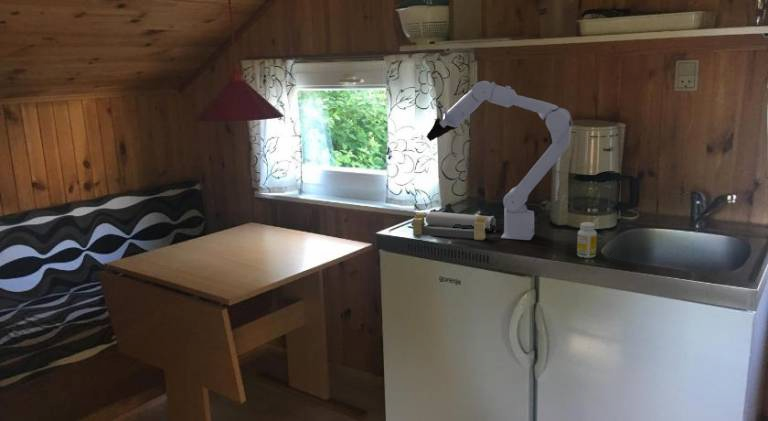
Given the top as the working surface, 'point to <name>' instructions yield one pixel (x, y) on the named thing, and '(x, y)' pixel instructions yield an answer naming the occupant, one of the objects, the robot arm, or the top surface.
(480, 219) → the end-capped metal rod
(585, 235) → the supplement bottle
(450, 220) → the tube
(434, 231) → the dark gray bar
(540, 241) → the top surface
